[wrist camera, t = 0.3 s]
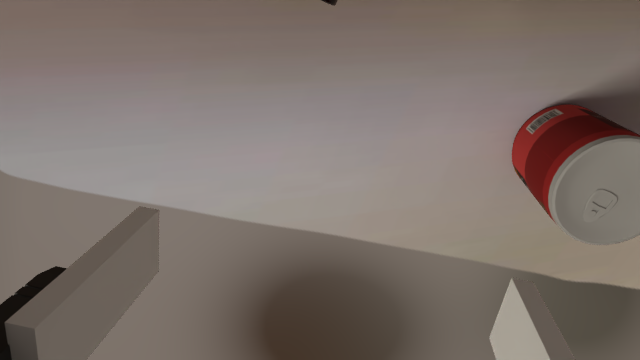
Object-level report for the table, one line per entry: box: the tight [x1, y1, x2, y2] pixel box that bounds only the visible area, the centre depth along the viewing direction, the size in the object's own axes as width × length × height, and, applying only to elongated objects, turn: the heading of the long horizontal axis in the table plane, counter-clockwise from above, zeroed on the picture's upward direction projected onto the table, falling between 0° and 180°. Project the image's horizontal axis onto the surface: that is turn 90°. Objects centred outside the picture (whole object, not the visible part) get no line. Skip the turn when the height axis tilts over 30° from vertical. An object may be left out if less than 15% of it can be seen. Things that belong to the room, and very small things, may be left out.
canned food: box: [512, 105, 640, 245], centre depth 35 cm, size 8×8×11 cm
